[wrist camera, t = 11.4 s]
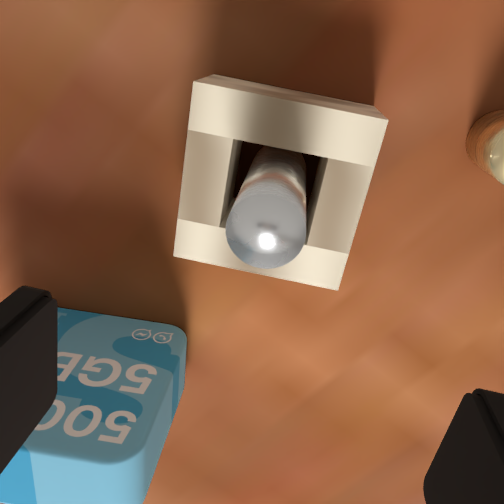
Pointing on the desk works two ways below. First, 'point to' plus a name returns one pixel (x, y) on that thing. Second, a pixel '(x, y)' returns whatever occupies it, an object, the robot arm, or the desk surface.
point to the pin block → (285, 137)
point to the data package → (101, 413)
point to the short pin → (488, 144)
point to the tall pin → (270, 210)
